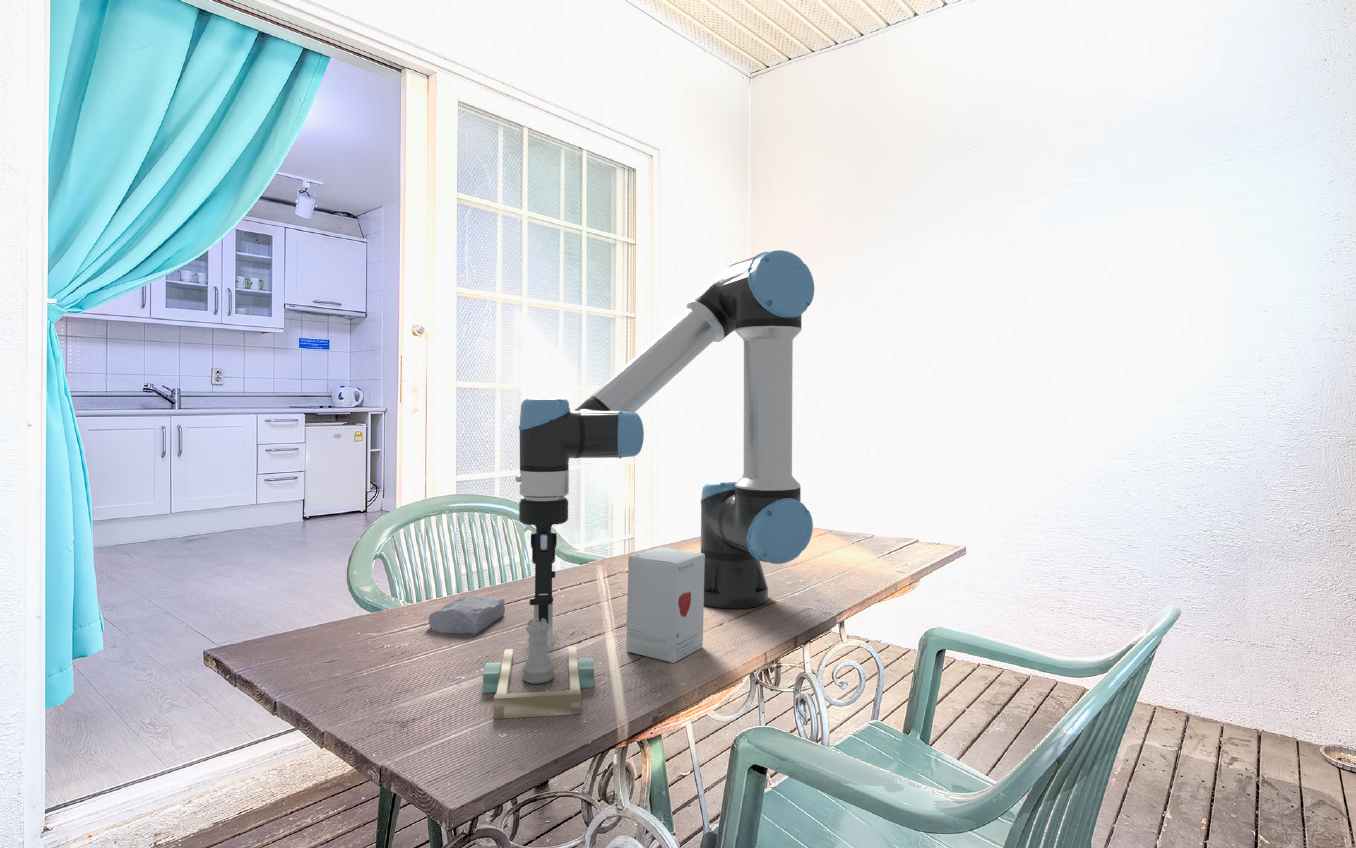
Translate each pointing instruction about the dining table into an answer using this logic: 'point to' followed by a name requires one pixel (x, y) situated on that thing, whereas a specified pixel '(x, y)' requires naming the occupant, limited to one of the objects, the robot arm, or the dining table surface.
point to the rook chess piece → (538, 654)
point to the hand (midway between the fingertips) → (543, 632)
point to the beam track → (537, 701)
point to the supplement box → (665, 603)
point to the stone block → (467, 615)
